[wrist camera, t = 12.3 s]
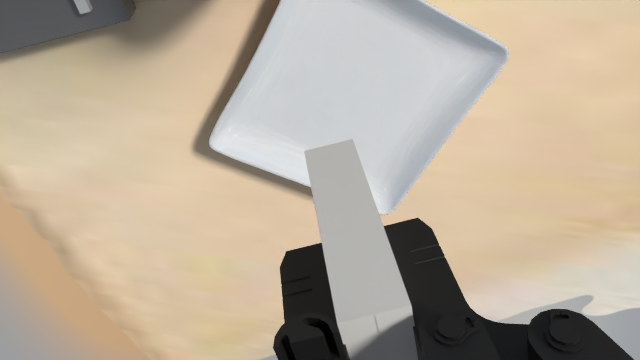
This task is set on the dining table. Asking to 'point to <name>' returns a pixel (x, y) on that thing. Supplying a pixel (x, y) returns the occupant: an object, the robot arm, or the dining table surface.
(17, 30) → the switch board
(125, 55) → the dining table surface
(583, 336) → the robot arm
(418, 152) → the salad plate
